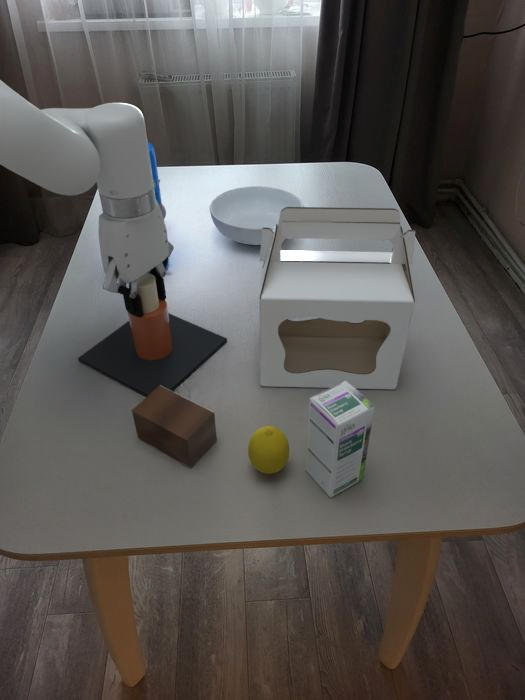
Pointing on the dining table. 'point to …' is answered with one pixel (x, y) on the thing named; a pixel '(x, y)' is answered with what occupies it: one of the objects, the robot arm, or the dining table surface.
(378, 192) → the dining table surface
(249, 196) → the serving bowl
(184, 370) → the mat
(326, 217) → the gable box
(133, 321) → the two-tone stacked cylinder
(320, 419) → the syrup box
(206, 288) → the dining table surface
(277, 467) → the lemon
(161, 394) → the block
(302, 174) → the dining table surface
